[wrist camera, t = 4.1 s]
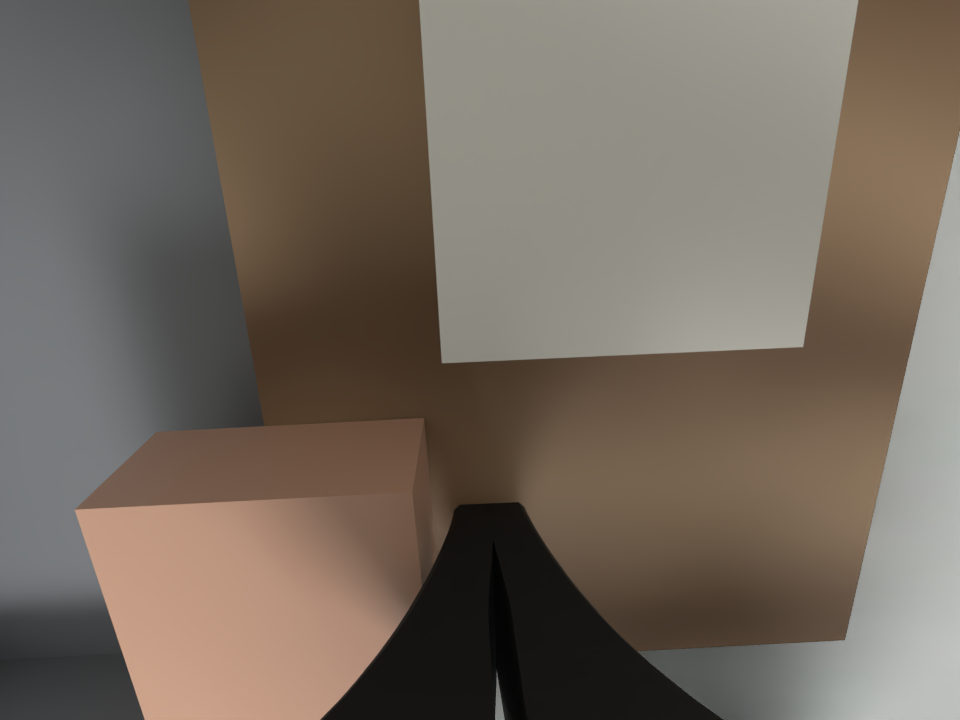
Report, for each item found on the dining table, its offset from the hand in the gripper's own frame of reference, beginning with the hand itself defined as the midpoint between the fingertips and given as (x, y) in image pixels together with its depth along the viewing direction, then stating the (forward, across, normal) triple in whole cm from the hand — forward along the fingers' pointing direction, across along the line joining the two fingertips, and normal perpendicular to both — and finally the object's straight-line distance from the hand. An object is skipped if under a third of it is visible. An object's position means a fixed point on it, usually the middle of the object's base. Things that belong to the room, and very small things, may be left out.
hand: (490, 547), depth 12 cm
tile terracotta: (+1, +4, 0) cm, 4 cm away
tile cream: (+1, -2, -7) cm, 7 cm away
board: (+3, -2, -4) cm, 5 cm away
